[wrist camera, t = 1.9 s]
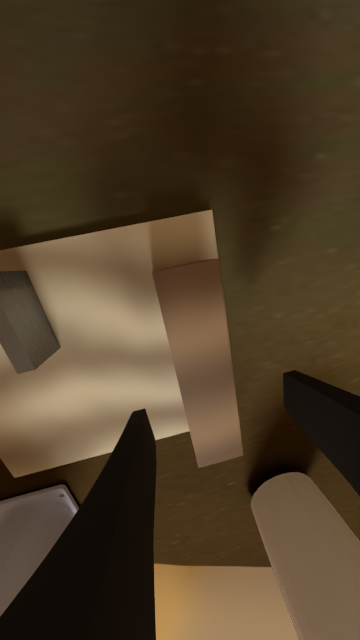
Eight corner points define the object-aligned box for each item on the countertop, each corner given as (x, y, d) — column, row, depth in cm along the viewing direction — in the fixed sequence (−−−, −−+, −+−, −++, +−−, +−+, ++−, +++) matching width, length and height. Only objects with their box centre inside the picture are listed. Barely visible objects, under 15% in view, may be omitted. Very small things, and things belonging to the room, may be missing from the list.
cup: (309, 451, 22) (564, 762, 8) (306, 496, 24) (495, 788, 11) (240, 469, 21) (393, 837, 8) (245, 514, 24) (364, 846, 10)
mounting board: (234, 411, 18) (238, 417, 18) (20, 468, 17) (14, 478, 16) (208, 212, 13) (212, 209, 12) (-112, 274, 11) (-131, 275, 11)
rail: (223, 413, 17) (243, 455, 13) (188, 422, 17) (198, 467, 13) (200, 260, 13) (218, 258, 9) (153, 270, 13) (151, 272, 9)
